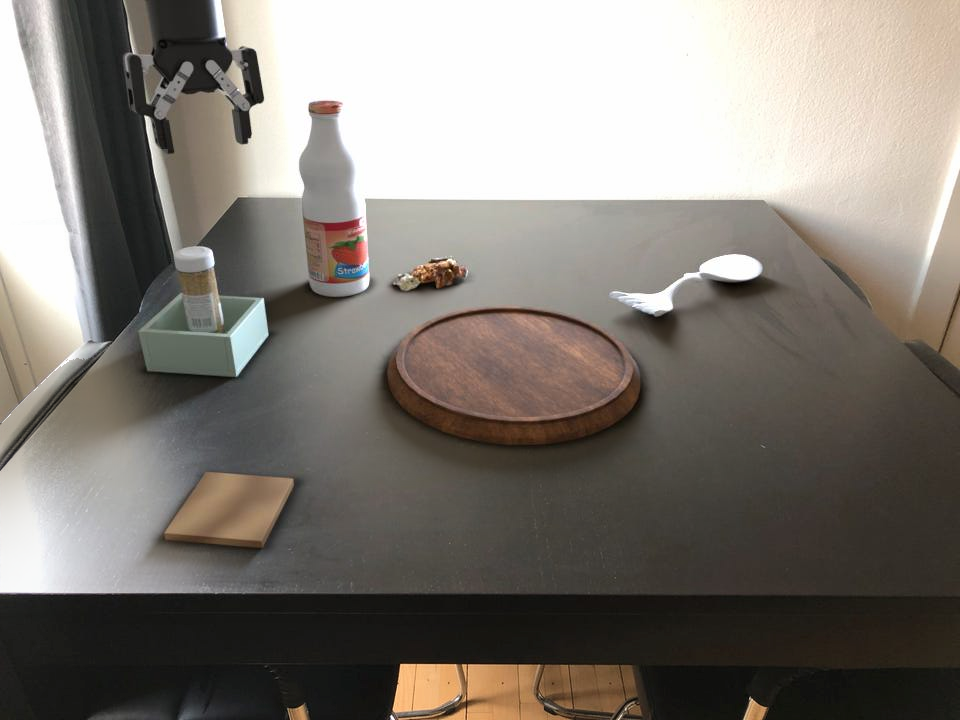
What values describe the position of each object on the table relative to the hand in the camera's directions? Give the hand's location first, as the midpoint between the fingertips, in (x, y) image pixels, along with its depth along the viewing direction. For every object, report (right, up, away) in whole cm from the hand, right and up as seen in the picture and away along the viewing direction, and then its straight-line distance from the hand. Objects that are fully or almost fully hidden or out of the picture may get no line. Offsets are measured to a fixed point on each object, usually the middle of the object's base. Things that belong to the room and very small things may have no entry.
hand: (206, 147), depth 85 cm
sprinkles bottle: (-4, -23, +12) cm, 26 cm away
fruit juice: (+9, -13, +33) cm, 36 cm away
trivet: (+8, -39, -15) cm, 42 cm away
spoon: (+65, -14, +33) cm, 75 cm away
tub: (-4, -24, +13) cm, 27 cm away
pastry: (+23, -12, +35) cm, 44 cm away
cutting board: (+36, -26, +10) cm, 45 cm away
